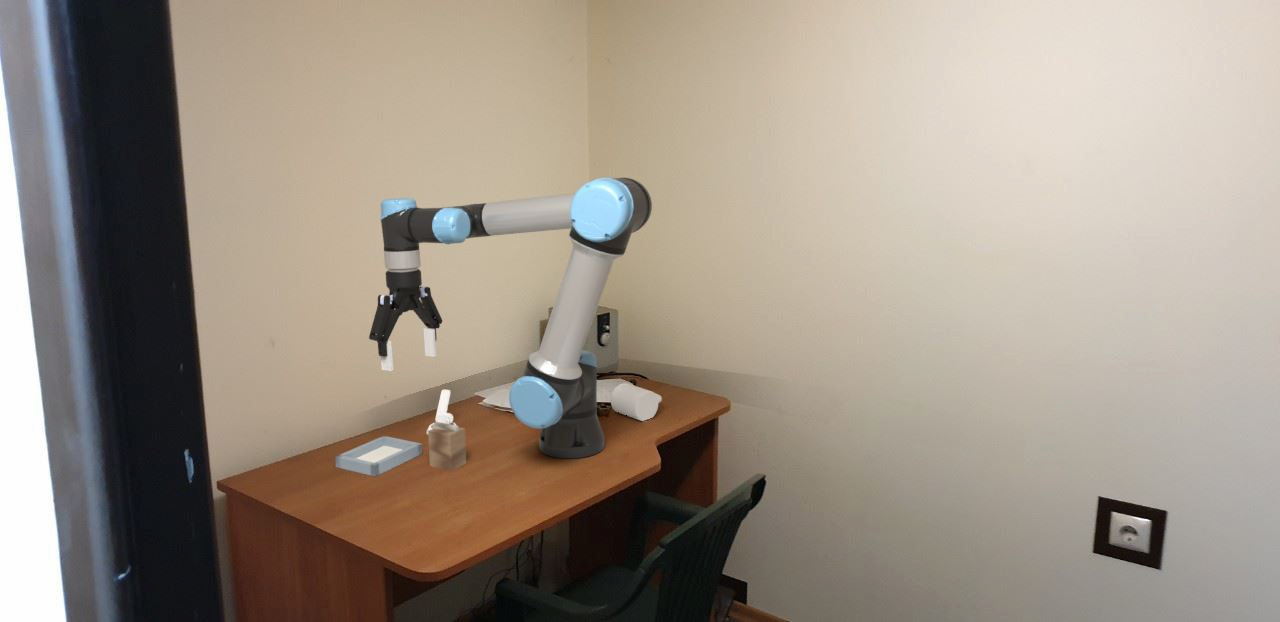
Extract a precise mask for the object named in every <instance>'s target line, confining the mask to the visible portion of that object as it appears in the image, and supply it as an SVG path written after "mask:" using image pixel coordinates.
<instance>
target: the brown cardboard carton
mask: <svg viewBox="0 0 1280 622" xmlns="http://www.w3.org/2000/svg"><path fill="white" fill-rule="evenodd" d="M433 423H434V426H435V428H434V429H432V430H430V431H428V434H427V436H428V437H427V438H428V439H427V440H428V454H429V455H428V456H429V458H428V459H429V466H430V467H433V468H436V469H437V468H438V469H443V470H446V471H447V470H448V471H454V470H456V469H458V468H459V467H461V466H463V465H465V464H467V446H466V445H467V444H466V442H467V441H466V428H464V427H459V425H457V424H456V425H457V426H456V425H451V424H445V423H440V422H436V421H435V422H433Z"/></svg>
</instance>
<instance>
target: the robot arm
mask: <svg viewBox="0 0 1280 622" xmlns="http://www.w3.org/2000/svg"><path fill="white" fill-rule="evenodd" d="M652 206H653V203H652V197H651V195H650V193H649V191H648V189H647V188H646V187H645V186H644V185H643V184H642V183H641V182H639V181H637V180H635V179H634V178H629V177H615V178H614V177H613V178H612V177H602V178H601V177H600V178H596V179H594V180H591V181H589V182H587V183H585V184H583V185H582V186H581V187H580V188H579V189H578V190H577V191H576V192H572V193H564V194H563V193H562V194H555V195H546V196H545V195H544V196H536V197H529V198H528V197H527V198H520V199H518V198H517V199H512V200H501V201H492V202H485V203H484V202H483V203H470V204H464V205H457V206H445V207H444V206H443V207H425V208H424V207H423V208H421V207H418V204H417V202H416V200H415V199H414V198H407V197H405V198H385V199H384V200H382V201H381V203H380V224H381V225H380V226H381V230H382V242H383V258H384V268H385V269H386V270H387V271H385V283H386V287H387V288H388V290H389V293H388V295H387V294H386V295H385V294H378V296H377V306H376V310H375V314H374V317H373V321H372V324H371V328H370V333H369V336H368V339H369V340H370V341H374V342H376V343H377V349H378V351H377V352H378V356H379V357H380V362H381V363H380V364H381V370H382V371H389V372H392V371H394V358H393V347H392V341H391V340H389V339H390V336H391V335H392V332H393V330H394V328H395V326H396V324H397V323H398V319H399V318H400V316H402V315H403V313H407V312H409V311H413V313H415V314H416V316H417V317H418V318H419V320H420V321H421V322H422V323H423V324H424V325H425V328H423V341H424V343H423V344H424V355H425V357H433V358H434V357H437V343H436V341H437V329H440V327H441V325H442V323H443V319H442V316H441V314H440V312H439V310H438V307H437V306H436V303H435V301H434V299H433V296H432V292H431V287H429V286H422V282H423V281H422V270H420V269H419V268H420V267H421V264H422V263H421V253H420V251H421V250H420V244H422V243H423V244H424V243H425V244H428V243H429V244H445V245H452V244H461V243H464V242H465V241H466V239H474V238H482V237H484V238H485V237H491V236H494V237H495V236H503V235H514V234H516V235H517V234H524V233H525V234H526V233H537V232H547V231H548V232H550V231H559V230H569V229H570V231H569V234H568V237H569V240H570V241H571V243H572V249H571V252H570V255H569V259H568V262H567V265H566V268H565V270H564V274H563V277H562V279H561V283H560V285H559V289H558V291H557V295H556V298H555V301H554V304H553V307H552V310H551V313H550V316H549V318H548V322H547V325H546V328H545V331H544V333H543V337H542V340H541V342H540V345H539V349H538V350H536V351H534V352H531V353H530V354H529V356H528V359H527V361H526V364H525V368H524V371H523V374H522V377H519V378H518V379H516V380H515V382H514V383H513V384H512V386H511V388H510V390H509V393H508V395H509V396H508V401H509V406H510V409H511V410H512V413H514V416H515V417H516V418H517V419H518V420H519V421H520V422H521V423H522V424H523V425H525V426H527V427H529V428H533V429H541V432H540V435H539V440H538V442H539V445H538V447H539V450H540V452H541V453H543V454H544V455H546V456H550V457H552V458H559V459H581V458H587V457H591V456H595V455H597V454H599V453H601V452H602V451H603V450H604V448H605V434H604V432H603V429H602V425H601V422H600V419H599V417H598V414H597V413H598V412H597V411H598V410H597V409H598V407H597V405H598V404H597V400H598V399H597V395H598V394H597V393H598V392H597V390H598V389H597V383H598V381H597V379H598V377H597V375H598V374H597V370H598V365H597V356H596V355H595V353H594V352H592V351H589V350H584V347H585V344H586V343H587V342H586V341H587V338H588V336H589V333H590V329H591V327H592V324H593V321H594V318H595V316H596V313H597V309H598V308H599V307H598V306H599V304H600V302H601V299H602V295H603V293H604V290H605V287H606V284H607V281H608V278H609V276H610V272H611V270H612V267H613V264H614V261H615V260H616V259H619V258H620V257H623V256H624V255H625V252H626V249H627V247H628V244H629V241H630V239H631V236H632V234H634V233H637V231H639V230H641V229H642V228H643V227H644V226H645V225H646V224H647V222H649V219H650V217H651V215H652V208H653V207H652Z"/></svg>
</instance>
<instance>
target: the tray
mask: <svg viewBox="0 0 1280 622" xmlns="http://www.w3.org/2000/svg"><path fill="white" fill-rule="evenodd" d="M420 455H423V444H422V443H420V442H416V441H411V440H405V439H402V438H396V437H392V436H387V435H383V436H381V437H378V438H375V439H373V440H370V441H369V442H366V443H364V444H361V445H359V446H357V447H354V448H352V449H350V450H348V451H345V452H343V453H340V454H338V455H335V457H334V461H335V468H338V469H343V470H346V471H350V472H354V473H358V474H364V475H366V476H371V477H378V476H380V475H381V474H384V473H385V472H388V471H390V470H392V469H393V468H396V467H398V466H401V465H402V464H404V463H405V462H408V461H411V460H412V459H415V458H416V457H418V456H420Z"/></svg>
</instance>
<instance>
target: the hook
mask: <svg viewBox="0 0 1280 622" xmlns="http://www.w3.org/2000/svg"><path fill="white" fill-rule="evenodd" d="M451 394H452V393H451V390H450V389H442V390H441V392H440V396H439V400H438V403H437V409H436V414H435V422H440V423H445V424H451V425H456V426H458V425H457V424H456V422H453V421H454V419H455V418H454V415H453V414H452V413H450V412H448V409H449V408H448V407H449V403H450V397H451ZM435 422H433V423H431V424H429V426H428V428H427V429H426V435H428V431H430V430H432V429H434V428H435V426H434V423H435Z"/></svg>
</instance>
